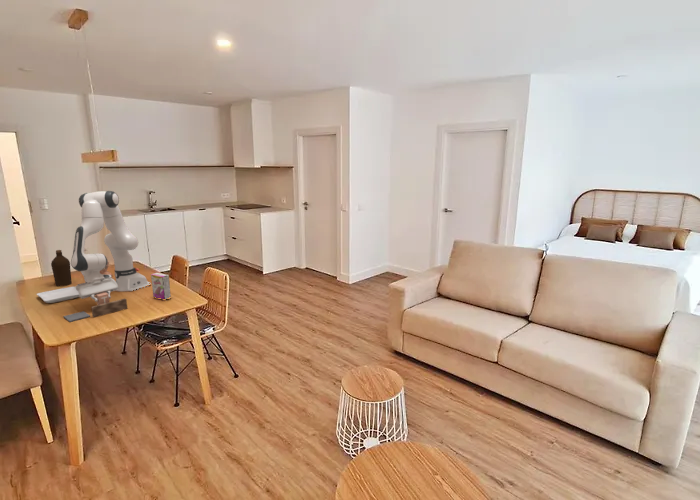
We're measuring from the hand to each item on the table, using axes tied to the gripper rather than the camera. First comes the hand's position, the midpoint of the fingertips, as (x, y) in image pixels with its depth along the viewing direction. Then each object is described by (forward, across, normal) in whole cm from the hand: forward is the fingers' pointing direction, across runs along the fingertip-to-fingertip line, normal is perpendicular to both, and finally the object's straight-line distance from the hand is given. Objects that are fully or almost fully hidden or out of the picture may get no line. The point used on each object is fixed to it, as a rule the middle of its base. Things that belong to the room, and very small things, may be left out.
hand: (103, 299), depth 229 cm
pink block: (+3, 0, +4) cm, 5 cm away
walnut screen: (+10, 0, 0) cm, 10 cm away
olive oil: (-46, 0, +56) cm, 73 cm away
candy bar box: (+10, +32, +1) cm, 33 cm away
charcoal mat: (+5, -14, +4) cm, 16 cm away
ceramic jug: (-40, +21, +51) cm, 68 cm away
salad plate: (-26, -10, +36) cm, 45 cm away
